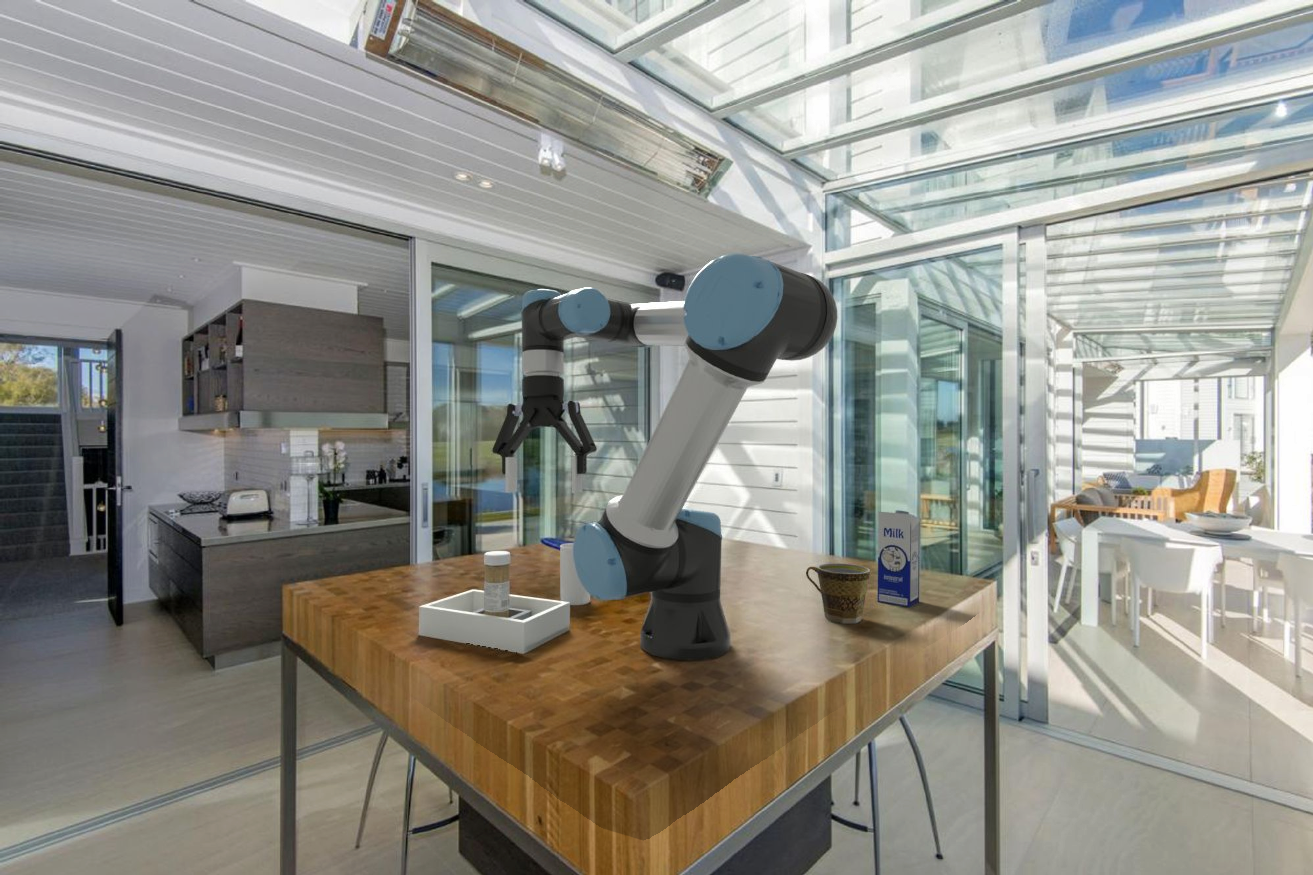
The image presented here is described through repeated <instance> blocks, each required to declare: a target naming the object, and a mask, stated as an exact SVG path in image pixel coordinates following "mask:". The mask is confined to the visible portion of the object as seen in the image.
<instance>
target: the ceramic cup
mask: <svg viewBox="0 0 1313 875" xmlns="http://www.w3.org/2000/svg"><path fill="white" fill-rule="evenodd" d="M810 570H812V571H814V572H815V573H816V574H817V577H818V582H819V585H818V584H817V583H816V582H815V581H814V580H813V579H812V578H811V577H810V575H809V571H810ZM870 574H871V570H870V569H869V568H867V567H865V566H862V565H858V564H852V563H850V564H849V563H837V562H835V563H822V564H819V565H817V567H816V566H809V567H808V568H806V571H805V575H806V578H807V580H809V582H810V583H811V584H813V585H814V587H815V588H816V590H817V591H818V592H819V593H820V594H821V598H822V599H821V600H822V605H823V612H824V617H825V618H826V619H827V620H828V621H829V622H832V623H838V624H846V625H848V624H858V623H859V622H861V620H862V617H863V611H864V606H865V601H866V596H867V591H868V587H869V581H870Z"/></svg>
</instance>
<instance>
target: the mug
mask: <svg viewBox="0 0 1313 875" xmlns="http://www.w3.org/2000/svg"><path fill="white" fill-rule="evenodd" d="M573 543H574V542H568V543H562V544H560V545H559V548H560V549H559V550H560V551H559V553H560V554H559V555H560V556H559V562H560V563H559V573H560V579H559V583H560V584H559V585H560V586H559V588H560V590H559V592H560V593H559V594H560V595H559V596H560V601H564V602H570V606H582V605H583V606H584V605H587V604H589V603H590V602H591V595H590V594H589V593H588V592H587V591H586V590H585V588H584V587H583V585H582V584H581V582H580V580H579V578H578V575H577V573H576V569H575V564H574V560H573Z"/></svg>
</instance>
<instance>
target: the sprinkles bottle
mask: <svg viewBox="0 0 1313 875" xmlns="http://www.w3.org/2000/svg"><path fill="white" fill-rule="evenodd" d="M483 564H484V582H483V584H484V585H483V589H484V590H483V591H484V614H485V615H492V616H498V617H505V618H509V594H510V592H511V591H510V589H511V588H510V586H511V583H510V582H511V581H510V565H511V553H510V551H507V550H492V551H487V552H485V553H484V554H483Z"/></svg>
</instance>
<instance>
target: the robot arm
mask: <svg viewBox="0 0 1313 875" xmlns="http://www.w3.org/2000/svg"><path fill="white" fill-rule="evenodd" d="M521 308H522V309H521V312H520V316H521V341H522V342H521V344H522V345H521V349H522V350H521V351H522V352H521V353H522V357H521V373H522V374H523V375H524V376H523V378H522V381H521V382H522V384H521V386H522V388H521V394H522V398H523V402H522V404H517V403H508V404H507V410H506V416H505V418H504V420H503V423H502V426H501V428H500V430H499V433H498V435H497V438H496V439H495V442H494V444H493V447H492V449H491V450H492V453H493V454H497V455H500V456H501V463H502V464H501V467H502V468H501V472H502V475H505V493H506V494H507V493H508V494H509V493H510V494H511V493H516V492H518V457H517V456H515V454H516V452H517V451H518V449H519V448H520V447H521V445H522V443H523V442H524V441H525V439H526V438H527V437H528V435H529V434H530V432H531V431H533V430H534V429H535V428H545V427H546V428H554V429H556V431H557V432H558V434H560V436H561V437H562V438H563V440H565V442H566V444H567V445H568V446H569V447H570V449H571V450H572V451H573V452H574V453H575V454H574V456H571V494H579V493H583V475H586V473H587V469H588V468H587V462H588V461H587V459H588V458H587V457H588V455H590V454H592V453H595V452H597V445H596V443H595V440H594V439H593V437H592V435H591V432H590V430H589V428H588V426H587V425H586V421H585V420H584V417H583V416H582V412H581V406H580V405H581V404H580V402H579V401H575V400H569V401H568V402H564V396H565V379H563V377H562V376H563V374H564V371H565V370H564V369H565V368H564V366H565V365H564V361H565V360H564V356H565V355H564V354H565V352H564V350H565V349H564V347H565V346H564V344H565V341H566V340H569V339H575V338H580V339H586V340H593V341H595V340H596V341H601V342H607V343H614V344H619V345H620V344H621V345H626V346H630V347H635V348H652V347H654V346H658V347H659V346H663V347H664V346H665V347H667V346H669V347H685V349H686V352H687V354H688V360H687V363H686V365H685V367H684V369H683V371H682V373H681V374H680V377H679V379H678V381H677V383H676V385H675V387H674V390H673V392H672V394H671V396H670V397H669V400H668V402H667V404H666V406H665V408H664V410H663V413H662V414H661V416H660V417H659V420H658V423H657V424H656V426H655V428H654V431H653V432H652V435H651V437H650V439H649V442H648V443H647V445H646V448H645V450H644V452H643V454H642V456H641V457H640V460H639V461H638V464H637V466H636V468H635V470H634V473H633V474H632V475H631V479H630V480H629V482H628V485H627V486H626V488H625V491H624V493H623V494H622V495H617V496H614V497H612V498H611V499H610V500H609V501H608V502H607V505H606V507H605V509H604V511H603V512H602V515H601V517H600V519H599V520H598V521H597V522H596V521H588V522H587V523H585V524H582V525H581V526H580V527H579V528H578V530H577V531H576V533H575V535H574V538H573V542H572V543H573V560H574V564H575V569H576V573H577V575H578V578H579V580H580V582H581V584H582V585H583V587H584V588H585V590H586V591H587V592H588V593H589V594H590V597H593V598H594V599H596V600H599V601H611V600H613V601H614V600H616V601H619V600H622V599H626V598H629V597H634V596H639V595H643V594H646V593H651V598H650V599H651V600H650V601H649V605H648V609H647V612H646V614H645V617H644V620H643V624H642V626H641V630H640V642H639V643H640V647H641V649H642V650H643V651H644V652H646V653H648V654H650V655H653V656H656V657H660V658H663V659H669V660H676V661H701V660H702V661H703V660H709V659H715V658H719V657H721V656H724V655H725V654H727V653H728V652H729V651H730V649H731V632H730V629H729V628H730V627H729V626H728V622H727V618H726V615H725V611H724V608H723V605H722V602H721V601H722V600H721V585H722V584H721V583H722V582H721V581H722V578H721V577H722V541H723V535H722V523H721V519H720V517H719V515H717V514H716V513H714V512H710V511H704V510H702V511H701V510H694V509H687V508H684V507H685V504H686V502H687V500H688V499H689V497H690V495H691V493H692V492H693V489H694V487H695V486H696V484H697V482H698V480H699V478H701V474H702V473H703V471H704V469H705V467H706V466H707V464H708V462H709V460H710V458H711V456H712V455H713V452H714V451H715V448H716V447H717V445H718V443H719V441H721V440H720V439H721V438H722V436H723V434H724V432H725V430H726V429H727V426H728V425H729V422H730V421H731V419H732V417H733V415H734V414H735V412H736V410H737V408H738V406H739V404H740V403H741V401H742V399H743V397H744V395H745V393H746V391H747V389H748V388H750V387H753V386H756V385H761V384H763V383H764V382H765V380H766V379H767V377H768V375H769V374H770V372H771V370H772V368H773V367H774V365H775V363H776V361H777V360H779V361H781V360H782V361H801V360H805V359H808V358H810V357H813V356H814V355H816V354H818V353H820V352H821V351H822V350H823V349H824V348H825V347H826V346H827V344H829V343H830V341H831V339H832V337H833V336H834V333H835V331H836V329H837V328H836V327H837V325H838V324H837V323H838V318H839V316H838V308H837V303H836V301H835V298H834V296H833V294H832V292H831V290H829V288H828V286H826V285H825V284H824V283H823V282H822V280H821V281H820V279H818V278H816V277H814V276H813V275H809V274H807V273H805V272H804V273H803V272H799V271H797V270H794V269H793V268H792V269H791V268H788V267H786V266H784V265H781V264H779V263H775V262H773V261H770V260H769V259H766V258H763V257H761V256H755V255H747V254H744V253H729V254H724V255H722V256H720V257H717V258H715V259H713V260H711V261H709V262H708V263H707V264H706V265H705V266H703V267H702V269H701V270H700V271H699V272H698V273H697V274H696V275H695V277H694V278H693V280H692V281H691V283H690V284H689V287H688V289H687V291H686V294H685V298H684V301H683V300H682V301H681V300H680V301H667V302H666V301H665V302H664V301H662V302H648V303H644V302H643V303H629V302H623V301H618V300H614V299H609V298H607V297H606V296H605V295H604V294H603V293H602V292H601V291H599V290H598V289H597V288H594V287H583V288H576V289H572V290H571V291H568V292H566V293H563V294H561V293H560V292H558V291H557V290H553V289H545V288H539V289H530V290H529V291H526V292H525V293H524V294H523V297H522V307H521ZM565 411H566V413H567V414H568V416H569V418H570V421H571V423H572V424H573V427H574V430H575V431H576V433H577V436H578V437H577V436H576V434H574V432H573V431H572V429H571V428H570V427H569V426H568V422H567V421H566V420H565V419H564V418H563V416H562V415H563V414H564V413H565ZM522 414H523V416H524V417H523V418H522V420H521V421H520V423H519V426H518V427H517V429H516V426H517V424H518V421H519V419H520V416H522ZM515 429H516V430H515Z"/></svg>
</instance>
